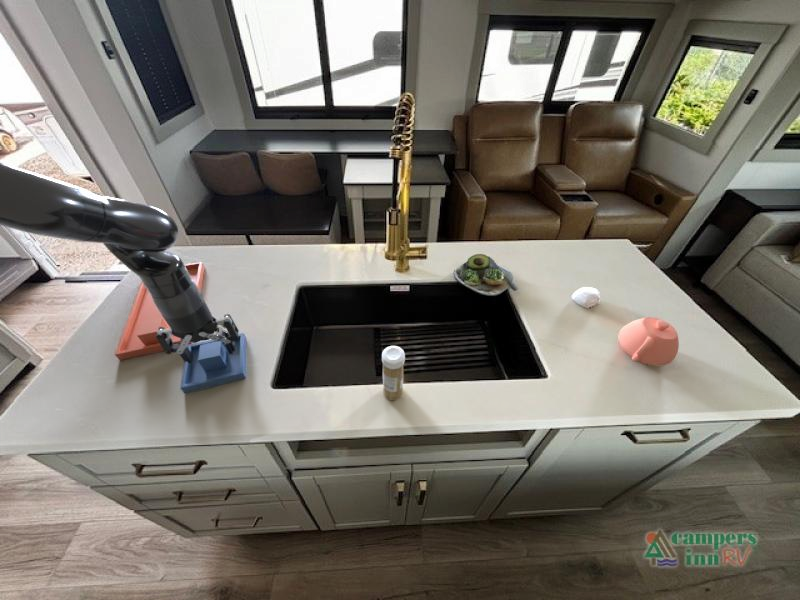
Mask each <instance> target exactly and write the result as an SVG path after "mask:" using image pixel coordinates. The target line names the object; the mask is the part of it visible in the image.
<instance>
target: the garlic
mask: <svg viewBox="0 0 800 600" xmlns="http://www.w3.org/2000/svg"><path fill="white" fill-rule="evenodd" d="M571 298H572V300H573V301H574V302H575V303H576V304H577V305H579V306H581V307H583V308H586V309H590V308H589V307H591V308H593V307H594V306H596V305H597V306H598V304H599V305H600V299H601V293H600V291H599V289H597V288H594V287H590V286H583V287H581V288H579V289H576V290H575V291H574V293H573V294H572V296H571ZM592 306H593V307H592Z"/></svg>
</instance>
